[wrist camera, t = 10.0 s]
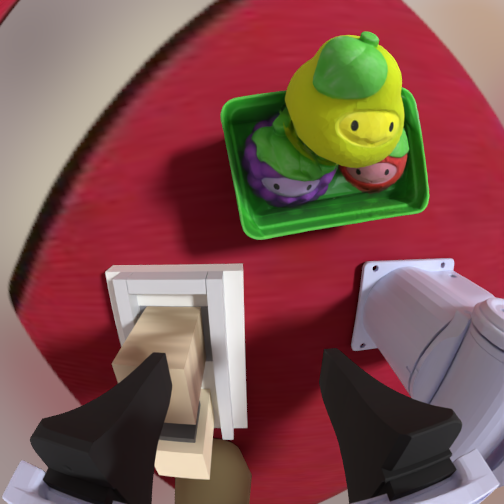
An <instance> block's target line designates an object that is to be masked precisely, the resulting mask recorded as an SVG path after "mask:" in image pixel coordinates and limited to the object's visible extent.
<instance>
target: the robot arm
mask: <svg viewBox="0 0 504 504" xmlns="http://www.w3.org/2000/svg"><path fill="white" fill-rule="evenodd" d="M442 263H443V264H442ZM441 264H442V266H441ZM374 266H376V269H375V270H373V267H374ZM453 268H454V260H453V259H451V258H439V259H415V260H390V261H368V262H366V263H364V265H363V267H362V275H361V283H360V291H359V299H358V306H357V312H356V319H355V325H354V331H353V337H352V342H351V347H352V349H353V350H354V351H360V350H367V349H374V348H378V349H379V350H380V352H381V353H382V355H383V356H384V357H385V359H386V360H387V362H388V363H389V365H390V366H391V368H392V369H393V371H394V372H395V374H396V375H397V376H398V378H399V379H400V381H401V382H402V384H403V385H404V387H405V388H406V390H407V391H408V393H409V394H410V396H411V398H410V397H408V396H405V395H403V394H401V393H399V392H396V391H395V390H393V389H391V388H389V387H387V386H385V385H384V384H382V383H381V382H379V381H378V380H376V379H375V378H373V377H372V376H370V375H369V374H368V373H366V372H365V371H364V370H362V369H361V368H360V367H359V366H357V365H356V364H355V363H354V362H353V361H351V360H350V359H349V358H348V357H347V356H345V355H344V354H343V353H342V352H341V351H340V350H338V349H337V348H332V349H324V353H323V360H322V367H321V373H320V380H319V384H320V389H321V393H322V398H323V401H324V404H325V407H326V409H327V412H328V415H329V417H330V420H331V423H332V425H333V428H334V431H335V433H336V436H337V439H338V442H339V447H340V451H341V455H342V460H343V465H344V470H345V476H346V482H347V488H348V496H349V504H479V503H481V502H482V501H483V500H484V499H485V498H486V497H487V496H488V495H490V494H491V493H492V492H493V491H494V490H495V489H496V488H498V487H501V486H504V299H501V298H495V297H494V296H493V295H492V294H491V293H489V292H488V291H486V290H485V289H483V288H481V287H480V286H478V285H476V284H475V283H473V282H471V281H470V280H468V279H466V278H465V277H463V276H461V275H460V274H458V273H456V272H454V271H453ZM363 343H364V344H363ZM361 344H363V345H362V346H360V345H361ZM172 386H173V385H172V381H171V376H170V372H169V367H168V362H167V357H166V353H159V352H153V353H152V354H151V355H149V356H148V357H147V358H146V359H145V360H144V361H143V362H142V363H141V364H140V365H139V366H138V367H137V368H136V369H135V370H134V371H132V372H131V373H130V374H129V375H128V376H127V377H126V378H124V379H123V380H122V381H121V382H119V383H118V384H117V385H116V386H114V387H113V388H112V389H110V390H109V391H107V392H106V393H104V394H103V395H101V396H100V397H98V398H96V399H94V400H92V401H91V402H89V403H87V404H85V405H83V406H81V407H78V408H76V409H74V410H71V411H69V412H65V413H63V414H59V415H56V416H52V417H48V418H44V419H42V420H41V422H40V423H39V425H38V426H37V428H36V430H35V431H34V433H33V434H32V436H31V438H30V442H31V445H32V447H33V449H34V450H35V452H36V453H37V454H38V455H39V457H40V458H41V459H42V460H43V462H44V463H45V464H46V465H47V466H48V470H47V472H45V471H43V470H42V469H40V468H38V467H36V466H34V465H32V464H29V463H28V462H26V461H23V460H21V461H20V463H19V465H18V467H17V469H16V471H15V472H14V474H13V476H12V478H11V480H10V482H9V484H8V486H7V488H6V490H5V492H4V494H3V496H2V498H3V499H4V500H5V501H6V502H7V503H8V504H151V501H152V483H153V474H154V465H155V458H156V451H157V446H158V441H159V438H160V434H161V431H162V428H163V424H164V421H165V418H166V415H167V411H168V408H169V404H170V399H171V393H172Z"/></svg>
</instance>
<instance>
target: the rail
mask: <svg viewBox="0 0 504 504" xmlns="http://www.w3.org/2000/svg"><path fill="white" fill-rule="evenodd" d="M105 274H106V279H107V285H108V290H109V295H110V300H111V305H112V310H113V314H114V319H115V323H116V327H117V331H118V335H119V339H120V343H121V347H122V346H123V344H124V342H125V341H126V339H127V337H128V336H129V334H130V332H131V331H132V329H133V328H134V326H135V324H136V323H137V321H138V320H139V318H140V316H141V315H142V313H143V312H144V310H145V309H146V307H147V306H156V307H201V314H202V324H203V333H204V342H205V350H206V362H205V368H204V374H203V380H202V387H201V393H200V399H199V406H198V413H197V419H196V425H192V424H177V423H165V422H164V424H163V428H162V431H161V434H160V438H159V441H158V446H157V451H156V458H155V465H154V466H155V468H156V470H157V472H158V474H159V475H163V476H171V477H181V478H192V479H208V480H210V468H211V455H212V442H213V430H214V428H221V431H222V438H223V440H234V428H248V427H247V397H246V366H245V331H244V291H243V264H192V265H113V266H112V267H111V268H109V269H108V270H107V271H106V272H105Z"/></svg>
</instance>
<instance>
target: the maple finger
mask: <svg viewBox="0 0 504 504" xmlns="http://www.w3.org/2000/svg"><path fill="white" fill-rule="evenodd" d="M153 352H159V353H166V357H167V362H168V367H169V372H170V376H171V381H172V385H173V386H172V393H171V399H170V404H169V408H168V411H167V415H166V418H165V421H164V422H165V423H177V424H192V425H196V419H197V413H198V406H199V399H200V393H201V387H202V380H203V374H204V368H205V362H206V350H205V342H204V333H203V324H202V314H201V307H156V306H147V307H146V309H145V310H144V312H143V313H142V315H141V316H140V318H139V320H138V321H137V323H136V324H135V326H134V328H133V329H132V331H131V332H130V334H129V336H128V337H127V339H126V341H125V342H124V344H123V346H122V347H121V349H120V351H119V352H118V354H117V356H116V357H115V359H114V361H113V362H112V367H113V370H114V373H115V376H116V378H117V381H118V383H119V382H121V381H122V380H123V379H124V378H126V377H127V376H128V375H129V374H130V373H131V372H132V371H134V370H135V369H136V368H137V367H138V366H139V365H140V364H141V363H142V362H143V361H144V360H145V359H146V358H147V357H148V356H149V355H151V354H152V353H153Z"/></svg>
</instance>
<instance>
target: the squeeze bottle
mask: <svg viewBox="0 0 504 504" xmlns="http://www.w3.org/2000/svg"><path fill="white" fill-rule="evenodd" d="M251 477H252V475H251V473H250V471H249V468H248V466H247V464H246V462H245V460H244V458H243V456H242V453H241V451H240V450H239V448H238V447H237V446H236V445H234V444H233V443H231V442H228V441H225V440H222V439H214V438H213V442H212V455H211V468H210V480H208V479H192V478H181V477H175V504H249V499H250V488H251Z"/></svg>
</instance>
